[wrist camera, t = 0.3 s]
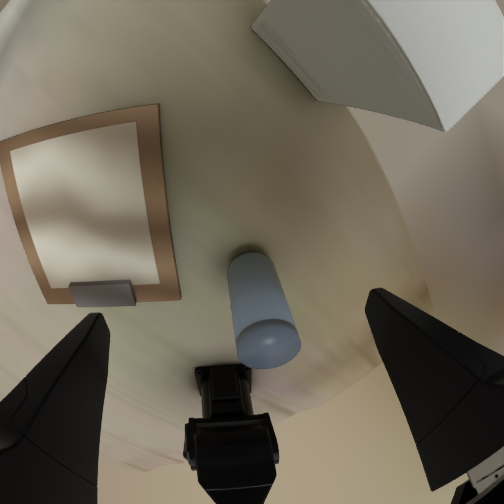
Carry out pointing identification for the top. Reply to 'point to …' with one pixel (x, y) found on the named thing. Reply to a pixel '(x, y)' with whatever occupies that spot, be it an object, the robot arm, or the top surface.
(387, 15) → the supplement box
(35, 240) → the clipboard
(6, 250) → the top surface
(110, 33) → the top surface
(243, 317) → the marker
